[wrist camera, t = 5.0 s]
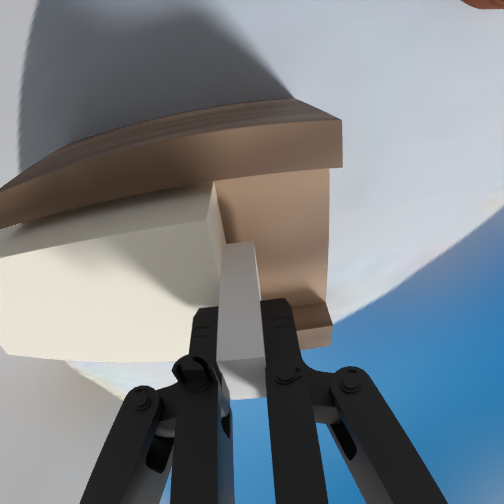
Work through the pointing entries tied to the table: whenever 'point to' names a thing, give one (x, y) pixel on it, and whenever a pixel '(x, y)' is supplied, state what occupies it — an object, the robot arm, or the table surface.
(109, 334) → the thick cream rectangular block
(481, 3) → the music box
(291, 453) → the robot arm
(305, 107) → the brown channel-shaped piece
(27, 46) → the table surface
